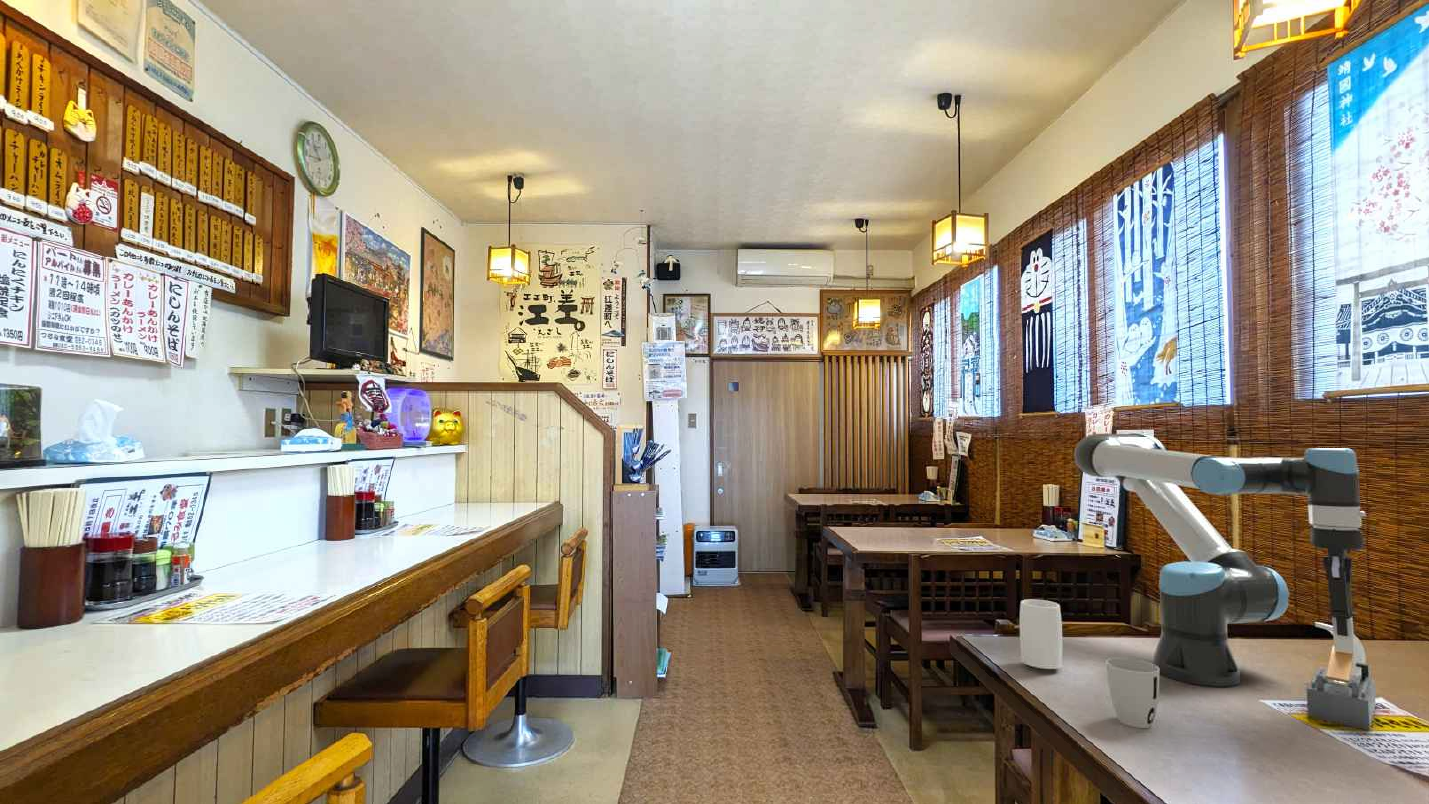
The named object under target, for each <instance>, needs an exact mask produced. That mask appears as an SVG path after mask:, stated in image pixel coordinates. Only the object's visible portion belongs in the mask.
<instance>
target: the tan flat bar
mask: <svg viewBox="0 0 1429 804" xmlns="http://www.w3.org/2000/svg"><path fill="white" fill-rule="evenodd" d="M1353 659H1354V654H1349V653H1343V652H1337V651H1334V645H1332V649H1331V652H1330V658H1329V661H1328V666H1327V669H1328V670H1327V675H1326V678H1327V679H1330V680H1335V681H1340V682H1345V683H1350V678H1351V672H1352V666H1353Z"/></svg>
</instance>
